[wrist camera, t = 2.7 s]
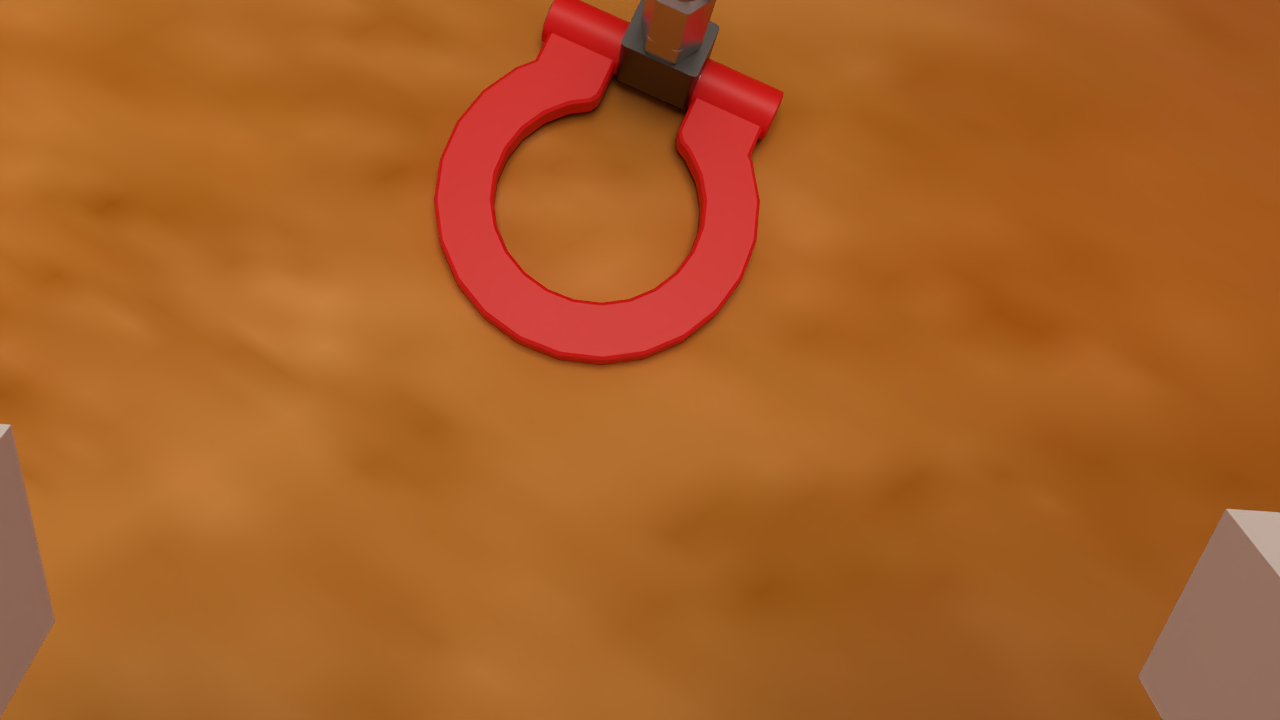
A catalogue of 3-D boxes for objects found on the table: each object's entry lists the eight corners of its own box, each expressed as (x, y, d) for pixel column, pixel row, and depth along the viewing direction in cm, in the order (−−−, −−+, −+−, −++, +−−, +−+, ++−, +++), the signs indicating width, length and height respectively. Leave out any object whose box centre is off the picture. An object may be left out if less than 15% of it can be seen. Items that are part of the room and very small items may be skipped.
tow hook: (679, 418, 28) (808, 118, 30) (794, 302, 15) (1005, -205, 17) (383, 287, 28) (532, -6, 30) (258, 61, 15) (529, -422, 17)
